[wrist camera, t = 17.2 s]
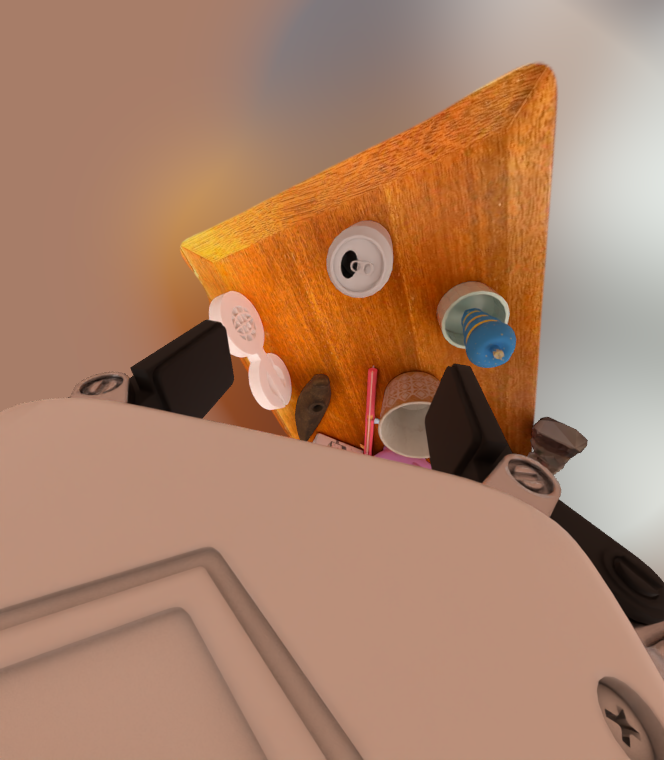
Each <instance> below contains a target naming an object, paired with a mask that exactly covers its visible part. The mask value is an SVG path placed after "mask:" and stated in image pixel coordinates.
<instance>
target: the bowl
mask: <svg viewBox="0 0 664 760" xmlns="http://www.w3.org/2000/svg"><path fill="white" fill-rule="evenodd" d="M472 308H477V309H480V310H481V311H482V312H485V313H487V314H489V315H490V316H493V317H496V318H498V319H499V320H500V321H501V322H503V323H505V324H507V323H508V320H509V314H510V312H509V308H508V304H507V303H506V301H505V300H504V299H503V298H502V297H501V296H500V295H499V294H498V293H497V292H496V291H494V290H493V289H492V288H491V287H489V286H488V285H486V284H484V283H481V282H475V281H472V282H465V283H461V284H459V285H457V286H455V287H453V288H452V289H450V290H449V291H448V292H447V293H446V294H445V295H444V296H443V297H442V299H441V300H440V302H439V305H438V308H437V320H438V322H439V325H440V328H441V330H442V333H443V335H444V337H445V339H446V340H447V341H448V342H449V343H450V344H452V345H454V346H456V347H458V348H463V349H466V347H465V345H464V335H463V327H462V324H461V319H462V316H463V314H464V311H465V310H468V309H472Z"/></svg>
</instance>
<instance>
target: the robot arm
mask: <svg viewBox="0 0 664 760" xmlns="http://www.w3.org/2000/svg"><path fill="white" fill-rule="evenodd" d="M131 371H132V373H133V375H134V376H132V377H131V378H129V377H128V376H127V375H126V374H124V373H121V372H105V373H101V374H96V375H94V376H91V377H88V378H86V379H84V380H82V381H81V382H79V383H78V384H77V385H76V386H75V387H74V389H73V391H72V394H71V397H68V398H56V399H45V400H38V401H32V402H27V403H22V404H19V405H16V406H13V407H11V408H8V409H6V410H4V411H1V412H0V760H664V582H663V581H662V580H661V579H660V577H658V575H657V574H656V573H655V572H654V571H653V570H652V569H651V568H650V567H649V566H647V565H646V564H645V563H644V562H643V561H641V560H640V559H639V558H638V557H636V556H635V555H634V554H632V553H631V552H630V551H628V550H627V549H626V548H624V547H623V546H621V545H620V544H619V543H617V542H616V541H614V540H613V539H612V538H611V537H609V536H608V535H606V534H605V533H604V532H602V531H601V530H600V529H598V528H597V527H596V526H594V525H593V524H591V523H590V522H589V521H587V520H586V519H585V518H583V517H582V516H581V515H579V514H578V513H577V512H575V511H574V510H572V509H571V508H570V507H568V506H567V505H566V504H564V503H563V502H562V501H560V500H559V497H560V495H561V488H560V484H559V482H558V481H557V479H556V478H555V476H554V475H553V474H552V473H551V472H550V471H549V470H548V469H547V468H546V467H544V466H543V465H542V464H540V463H539V462H537V461H535V460H533V459H531V458H529V457H526V456H523V455H519V454H513V453H512V451H511V449H510V447H509V445H508V443H507V441H506V439H505V437H504V435H503V433H502V431H501V429H500V427H499V425H498V422H497V420H496V418H495V416H494V414H493V412H492V410H491V408H490V406H489V404H488V402H487V400H486V398H485V396H484V394H483V392H482V389H481V387H480V385H479V383H478V381H477V379H476V377H475V375H474V373H473V371H472V369H471V367H470V366H465V365H460V364H453V365H452V367H450V366H448V367H447V368H446V370H445V372H444V375H443V377H442V379H441V381H440V384H439V386H438V388H437V391H436V393H435V395H434V398H433V400H432V402H431V404H430V407H429V409H428V411H427V414H426V416H425V429H426V436H427V443H428V449H429V456H430V462H431V469H428V468H424V467H420V466H415V465H411V464H406V463H402V462H397V461H393V460H388V459H384V458H379V457H375V456H370V455H366V454H361V453H357V452H353V451H348V450H344V449H339V448H335V447H330V446H326V445H321V444H317V443H312V442H307V441H303V440H298V439H294V438H289V437H284V436H280V435H275V434H270V433H266V432H262V431H257V430H252V429H247V428H243V427H238V426H234V425H229V424H224V423H220V422H215V421H210V420H205V419H202V418H203V417H204V416H205V415H206V414H207V413H208V412H209V410H210V409H211V408H212V407H213V406H214V405H215V403H216V402H217V401H218V400H219V399H220V398H221V397H222V395H223V394H224V393H225V392H226V391H227V390H228V389H229V387H230V386H231V385H232V383H233V381H234V375H233V369H232V362H231V357H230V349H229V343H228V337H227V330H226V328H225V326H223V325H222V323H221V322H218V321H212V320H205V321H203V322H201V323H200V324H198V325H197V326H195V327H194V328H192V329H190V330H189V331H187V332H186V333H184V334H183V335H181V336H180V337H178V338H176V339H175V340H173V341H172V342H170V343H168V344H167V345H165V346H164V347H162V348H160V349H159V350H157V351H156V352H155V353H153V354H151V355H149V356H148V357H146V358H145V359H143V360H142V361H140V362H138V363H137V364H135V365H134V366H132V367H131Z"/></svg>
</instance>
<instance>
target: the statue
mask: <svg viewBox="0 0 664 760" xmlns="http://www.w3.org/2000/svg"><path fill="white" fill-rule="evenodd" d="M532 429H533V431H532V433H531V435H532V439H531V440H530V441H531V444H532V447H533V449H534V452H529V454H528V457H529V458H531V459H533V460H535V461H537V462H539V463H540V464H542V465H543V466H544V467H546V468H547V469H548V470H549V471H550V472H551V473H552V474H553V475H554V474H556V472H559V471H560V470H561V469H563V468H564V465H565V464H566V463H567V462H568V460H569V459H570V458H572V457H573V456H575V455H576V454H577V453H581V452H582V451H583V450H584V448H585V447H586V446H587V441H588V440H587V439H586V438H585V437H584V436H583V435H582V434H580V433H579V432H578V431H577V430H576V429H574V428H571V427H569V426H567V425H565V424H563V423H561V422H559V421H557V420H554V419H552V418H550V417H543V418H540V420H539V421H538V422H537V423H536V424H535V425H534V426H533V428H532Z"/></svg>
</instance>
